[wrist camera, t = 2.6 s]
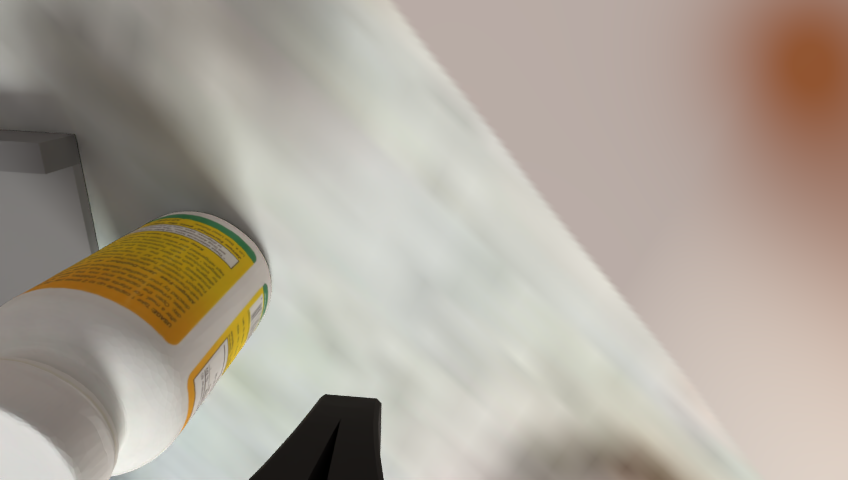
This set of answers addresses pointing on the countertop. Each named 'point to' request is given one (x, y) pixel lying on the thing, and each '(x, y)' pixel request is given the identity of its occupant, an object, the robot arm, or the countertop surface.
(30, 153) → the stand
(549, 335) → the countertop surface
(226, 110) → the countertop surface
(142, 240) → the supplement bottle
